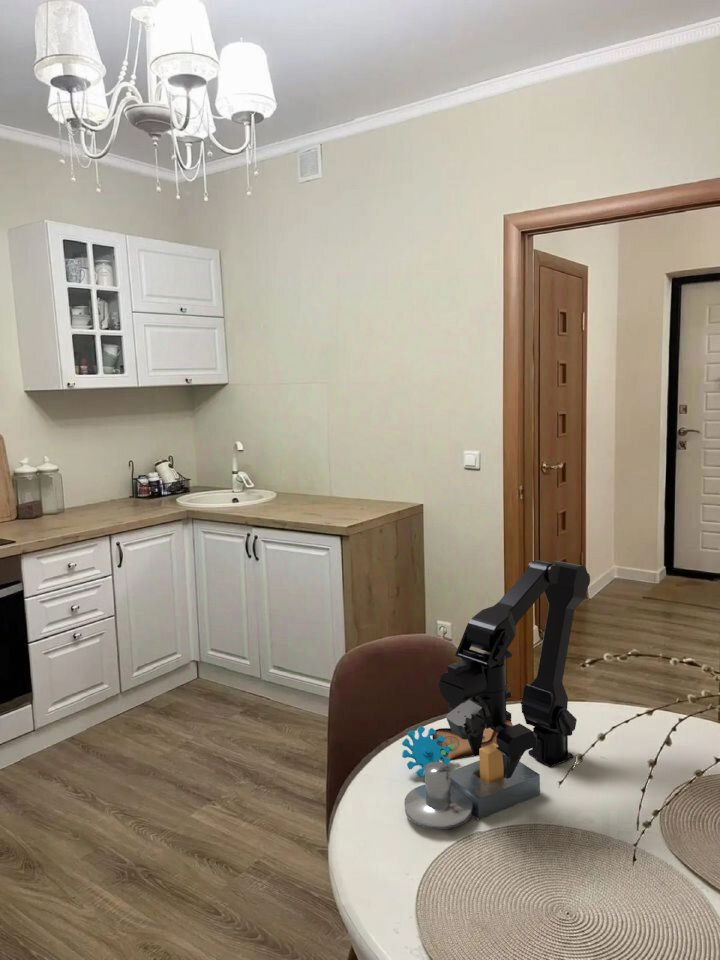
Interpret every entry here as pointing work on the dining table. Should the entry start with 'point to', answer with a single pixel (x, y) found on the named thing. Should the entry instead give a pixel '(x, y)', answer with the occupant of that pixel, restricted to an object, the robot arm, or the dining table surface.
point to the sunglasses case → (464, 741)
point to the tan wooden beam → (491, 764)
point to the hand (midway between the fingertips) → (491, 766)
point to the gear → (425, 749)
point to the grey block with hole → (466, 794)
